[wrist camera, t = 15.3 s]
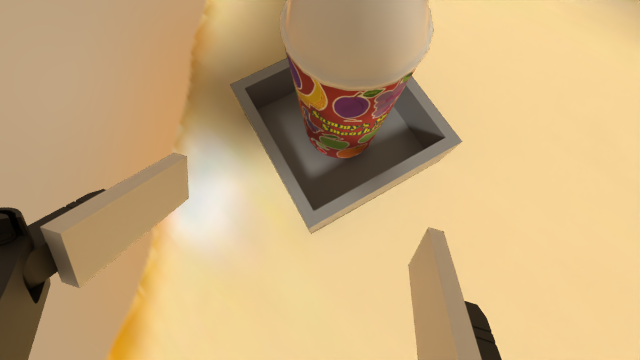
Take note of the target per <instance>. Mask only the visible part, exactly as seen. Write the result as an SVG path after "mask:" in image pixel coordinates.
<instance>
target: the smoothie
mask: <svg viewBox="0 0 640 360" xmlns="http://www.w3.org/2000/svg"><path fill="white" fill-rule="evenodd" d="M433 31H434V28H433V22H432V17H431V11H430V8H429V1H428V0H286V2H285V4H284V7H283V9H282V11H281V14H280V34H281V37H282V40H283V42H284V45H285V50H286V54H287V58H288V61H289V65H290V69H291V73H292V77H293V81H294V85H295V89H296V93H297V97H298V101H299V104H300V108H301V112H302V116H303V120H304V124H305V128H306V132H307V135H308V137H309V140H310V142H311V143H312V144H313V146H314V147H315V148H316V149H317V150H318V151H320V152H322V153H323V154H325V155H327V156H330V157H334V158H350V157H353V156H356V155H358V154H360V153H362V152H363V151H364V150H365V149H367V148H368V147H369V145H370V143H371V142H372V140H373V139H374V137H375V135H376V134H377V132H378V130H379V129H380V127H381V125H382V124H383V122H384V120H385V119H386V117H387V115H388V114H389V112H390V110H391V109H392V107H393V105H394V104H395V102H396V100H397V99H398V97H399V96H400V94H401V92H402V91H403V89H404V87H405V86H406V84H407V82H408V81H409V79H410V77H411V76H412V74H413V72H414V71H415V69H416V67H417V66H418V65H419V63H420V62H421V60H422V59H423V57H424V56H425V55H426V53H427V52H428V50H429V48H430V44H431V40H432V35H433Z"/></svg>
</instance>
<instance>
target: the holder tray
mask: <svg viewBox="0 0 640 360" xmlns="http://www.w3.org/2000/svg"><path fill="white" fill-rule="evenodd" d="M230 86H231V87H232V89H233V91H234V93H235V95H236V97H237V99H238V101H239V103H240V105H241V107H242V108H243V110H244V112H245V114H246V116H247V118H248V120H249V121H250V123H251V125H252V127H253V129H254V131H255V132H256V134H257V136H258V138H259V140H260V142H261V143H262V145H263V147H264V149H265V151H266V153H267V154H268V156H269V158H270V160H271V162H272V164H273V165H274V167H275V169H276V171H277V173H278V175H279V176H280V178H281V180H282V182H283V184H284V185H285V187H286V189H287V191H288V193H289V195H290V196H291V198H292V200H293V202H294V204H295V206H296V207H297V209H298V211H299V213H300V215H301V217H302V218H303V220H304V222H305V224H306V226H307V228H308V229H309V231H310V233H311V234H312V233H314V232H315V231H317V230H319V229H321V228H323V227H324V226H326V225H328V224H330V223H331V222H333V221H335V220H337V219H338V218H340V217H342V216H344V215H345V214H347V213H349V212H351V211H352V210H354V209H356V208H358V207H359V206H361V205H363V204H365V203H366V202H368V201H370V200H372V199H373V198H375V197H377V196H379V195H380V194H382V193H384V192H386V191H387V190H389V189H391V188H393V187H394V186H396V185H398V184H400V183H401V182H403V181H405V180H407V179H408V178H410V177H412V176H414V175H415V174H417V173H419V172H421V171H422V170H424V169H426V168H428V167H429V166H431V165H433V164H435V163H437V162H438V161H439V160H441V159H442V158H443V157H444V156H445V155H447V154H448V153H449V152H450V151H452V150H453V149H454V148H455V147H456V146H458V145H459V144H460V143H461V142H462V141H461V139H460V138H459V137H458V136H457V134H456V133H455V132H454V130H453V129H452V128H451V126H450V125H449V124H448V122H447V121H446V120H445V119H444V117H443V116H442V115H441V113H440V112H439V111H438V109H437V108H436V107H435V106H434V104H433V103H432V102H431V100H430V99H429V98H428V96H427V95H426V94H425V93H424V91H423V90H422V89H421V87H420V86H419V85H418V83H417V82H416V81H415V80H414V78H413V77H412V76H411V77H410V79H409V81H408V82H407V84H406V86H405V87H404V89H403V91H402V92H401V94H400V96H399V97H398V99H397V100H396V102H395V104H394V105H393V107H392V109H391V110H390V112H389V114H388V115H387V117H386V119H385V120H384V122H383V124H382V125H381V127H380V129H379V130H378V132H377V134H376V135H375V137H374V139H373V140H372V142H371V143H370V145H369V147H368V148H367V149H365V150H364V151H363V152H362V153H360V154H358V155H356V156H353V157H350V158H334V157H330V156H327V155H325V154H323V153H322V152H320V151H318V150H317V149H316V148H315V147H314V146H313V144H312V143H311V142H310V140H309V137H308V135H307V132H306V128H305V124H304V120H303V116H302V112H301V108H300V104H299V101H298V97H297V93H296V89H295V85H294V81H293V77H292V73H291V69H290V65H289V61H288V58H286V59H284V60H282V61H280V62H277V63H275V64H273V65H271V66H269V67H267V68H265V69H263V70H260V71H258V72H256V73H254V74H252V75H250V76H248V77H245V78H243V79H241V80H239V81H237V82H235V83H233V84H230Z"/></svg>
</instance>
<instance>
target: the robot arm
mask: <svg viewBox="0 0 640 360" xmlns="http://www.w3.org/2000/svg"><path fill="white" fill-rule="evenodd" d="M188 198H189V195H188V172H187V156H183V155H180V154H177V153H172V154H171V155H169V156H167V157H165V158H163V159H162V160H160V161H158V162H156V163H155V164H153V165H151V166H149V167H147V168H145V169H144V170H142V171H140V172H138V173H137V174H134V175H133V176H131V177H129V178H127V179H126V180H124V181H122V182H120V183H118V184H116V185H115V186H113V187H111V188H109V189H108V190H104V189H102V190H99V191H96V192H92V193H89V194H87V195H85V196H83V197H81V198H79V199H77V200H76V202H72V203H70V204H68V205H66V207H62V208H61V209H59V210H57V211H55V212H53V213H51V214H49V215H47V216H45V217H44V218H42V219H40V220H38V221H36V222H34V223H32V224H30V225H29V226H27V225H26V222H25V220H24V218H23V215H22V213H21V212H20V211H19V210H18V209H14V208H0V360H28V358H29V354H30V351H31V347H32V344H33V341H34V338H35V334H36V331H37V328H38V324H39V321H40V318H41V314H42V311H43V308H44V304H45V301H46V298H47V294H48V290H49V287H50V278H49V277H51V276H52V275H53V274H55V273H56V272H58V273H59V276H60V278H61V281H62V282H63V283H66V284H69V285H72V286H75V287H78V288H81V287H82V286H83V285H84V284H86V283H87V282H88V281H89V280H90V279H91V278H93V277H94V276H95V275H96V274H98V273H99V272H100V271H101V270H102V269H104V268H105V267H106V266H107V265H108V264H110V263H111V262H112V261H113V260H115V259H116V258H117V257H118V256H119V255H121V254H122V253H123V252H124V251H125V250H127V249H128V248H129V247H130V246H131V245H133V244H134V243H135V242H136V241H137V240H139V239H140V238H141V237H142V236H144V235H145V234H146V233H147V232H148V231H150V230H151V229H152V228H153V227H154V226H156V225H157V224H158V223H159V222H160V221H162V220H163V219H164V218H165V217H166V216H168V215H169V214H170V213H171V212H173V211H174V210H175V209H176V208H177V207H179V206H180V205H181V204H182V203H183V202H185V201H186V200H187V199H188ZM408 266H409V276H410V286H411V296H412V306H413V316H414V325H415V335H416V345H417V355H418V360H502V359H501V357H500V354H499V351H498V348H497V346H496V345H495V340H494V337H493V334H491V329H490V326H489V323H488V320H487V318H486V316H485V315H484V314H483V312H482V311H481V309H480V308H479V307H478V305H476V304H473V303H470V302H466V301H464V298H463V295H462V292H461V288H460V285H459V282H458V278H457V275H456V271H455V268H454V265H453V261H452V258H451V255H450V251H449V248H448V245H447V241H446V238H445V235H444V232H443V231H440V230H436V229H433V228H429V227H428V229H427V231H426V233H425V235H424V237H423V238H422V240H421V242H420V244H419V246H418V248H417V250H416V252H415V254H414V256H413V258H412V260H411V262H410V263H409V265H408Z"/></svg>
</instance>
